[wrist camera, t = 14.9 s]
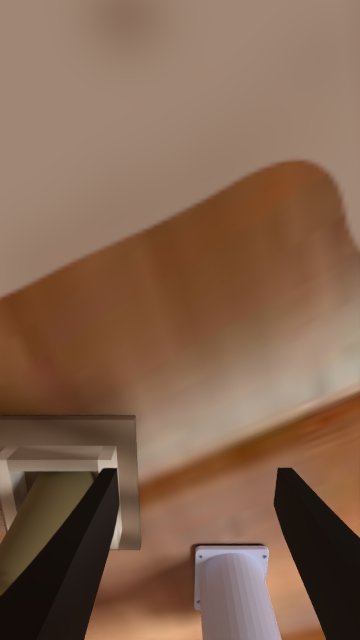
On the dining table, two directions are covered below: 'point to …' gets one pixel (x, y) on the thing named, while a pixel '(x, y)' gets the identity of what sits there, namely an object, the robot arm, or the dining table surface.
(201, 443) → the dining table surface
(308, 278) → the dining table surface
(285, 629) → the dining table surface
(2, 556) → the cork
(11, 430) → the collar board
